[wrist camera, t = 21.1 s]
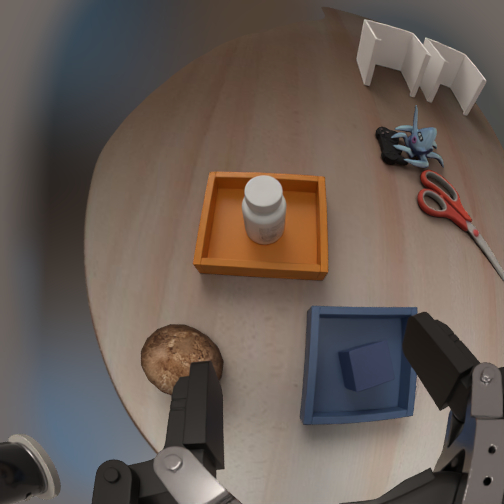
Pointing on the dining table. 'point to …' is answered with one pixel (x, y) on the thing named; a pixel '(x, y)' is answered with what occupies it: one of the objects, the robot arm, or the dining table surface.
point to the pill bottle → (264, 209)
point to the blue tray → (330, 373)
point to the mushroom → (176, 355)
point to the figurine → (408, 144)
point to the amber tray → (258, 255)
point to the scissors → (453, 211)
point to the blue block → (366, 366)
